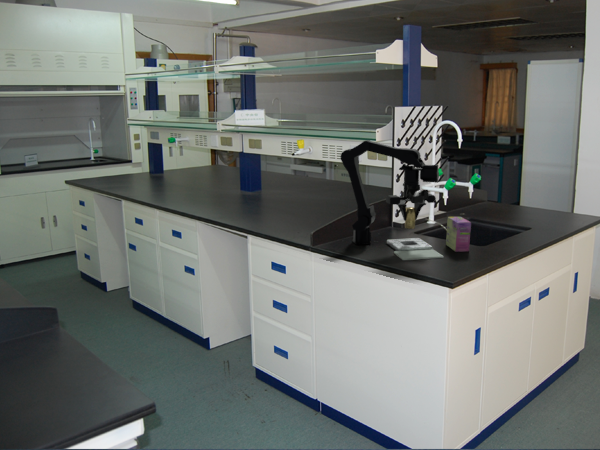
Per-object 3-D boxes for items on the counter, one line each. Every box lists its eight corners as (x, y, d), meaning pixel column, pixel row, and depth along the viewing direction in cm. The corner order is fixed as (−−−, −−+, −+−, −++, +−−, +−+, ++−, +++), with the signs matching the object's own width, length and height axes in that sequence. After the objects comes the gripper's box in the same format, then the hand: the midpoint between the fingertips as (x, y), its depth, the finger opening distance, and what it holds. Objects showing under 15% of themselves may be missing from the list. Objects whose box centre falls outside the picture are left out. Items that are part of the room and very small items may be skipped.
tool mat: (402, 260, 192) (402, 258, 192) (393, 252, 202) (393, 251, 202) (443, 257, 195) (443, 256, 194) (432, 250, 204) (432, 249, 204)
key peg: (406, 229, 206) (407, 209, 204) (403, 226, 210) (403, 207, 208) (416, 228, 207) (417, 208, 205) (412, 226, 211) (413, 207, 209)
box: (469, 251, 202) (471, 221, 200) (455, 252, 202) (456, 222, 199) (459, 244, 213) (461, 216, 210) (445, 245, 212) (447, 216, 209)
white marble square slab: (398, 252, 203) (398, 248, 202) (386, 243, 216) (386, 239, 216) (432, 250, 205) (432, 246, 204) (418, 241, 218) (418, 237, 218)
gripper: (395, 185, 195) (394, 225, 199) (442, 183, 198) (440, 223, 201) (386, 181, 206) (385, 219, 209) (430, 179, 209) (429, 217, 212)
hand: (410, 220), depth 208 cm, fingers closed on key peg, 4 cm apart
